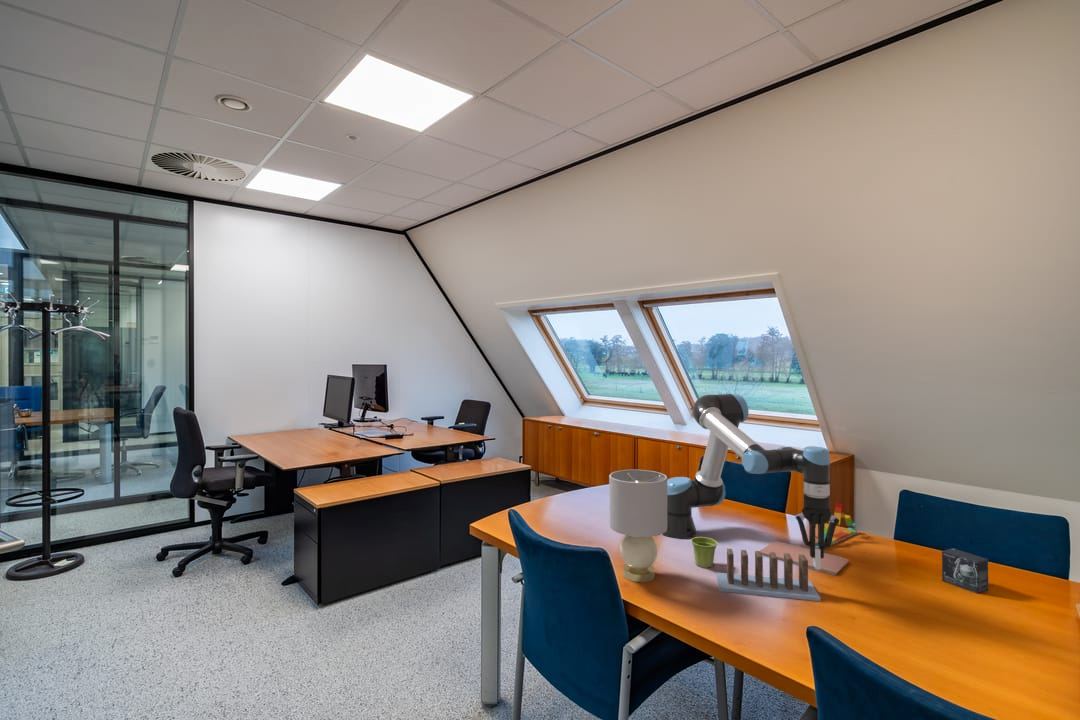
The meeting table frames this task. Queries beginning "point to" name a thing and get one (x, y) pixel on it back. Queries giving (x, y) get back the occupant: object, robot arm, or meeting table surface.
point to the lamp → (638, 518)
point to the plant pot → (704, 551)
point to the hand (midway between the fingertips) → (816, 567)
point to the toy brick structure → (843, 534)
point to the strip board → (766, 588)
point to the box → (965, 570)
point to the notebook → (827, 563)
